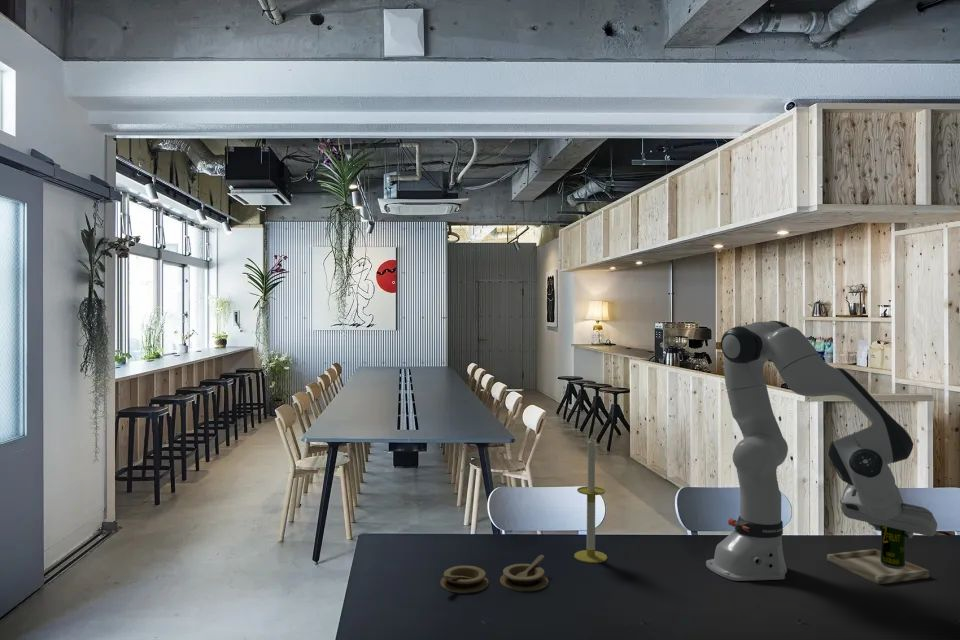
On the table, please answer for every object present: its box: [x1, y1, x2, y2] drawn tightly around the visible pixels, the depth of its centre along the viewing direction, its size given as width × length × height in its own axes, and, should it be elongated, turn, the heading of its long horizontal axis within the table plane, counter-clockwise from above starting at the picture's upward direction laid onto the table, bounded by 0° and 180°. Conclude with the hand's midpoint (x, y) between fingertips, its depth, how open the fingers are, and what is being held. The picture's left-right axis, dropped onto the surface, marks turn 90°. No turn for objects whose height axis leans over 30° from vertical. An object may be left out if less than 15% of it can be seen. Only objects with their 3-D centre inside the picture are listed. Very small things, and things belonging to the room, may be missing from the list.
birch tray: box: [826, 548, 930, 585], centre depth 194 cm, size 18×18×2 cm
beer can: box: [880, 525, 907, 569], centre depth 170 cm, size 5×5×12 cm
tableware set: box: [439, 554, 549, 594], centre depth 184 cm, size 30×20×6 cm, turn 96°
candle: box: [573, 433, 608, 564], centre depth 203 cm, size 10×10×38 cm
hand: (894, 531), depth 170 cm, fingers closed on beer can, 5 cm apart
